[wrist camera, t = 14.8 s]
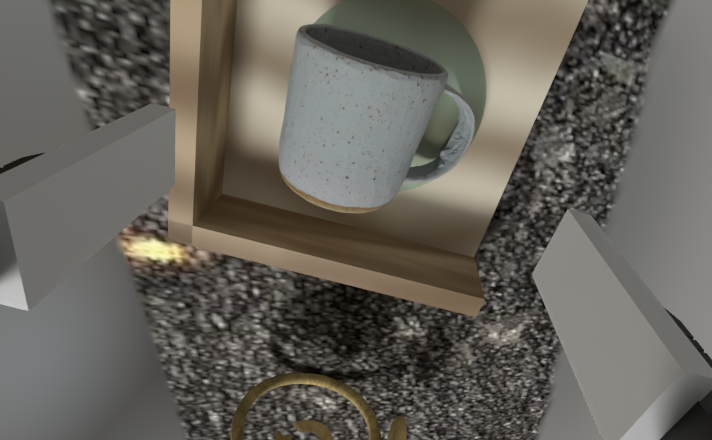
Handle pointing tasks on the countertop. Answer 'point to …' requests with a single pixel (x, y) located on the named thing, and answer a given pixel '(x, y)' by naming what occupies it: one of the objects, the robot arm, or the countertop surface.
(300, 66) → the ceramic mug
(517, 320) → the countertop surface
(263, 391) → the wall sconce
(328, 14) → the tray
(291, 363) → the countertop surface
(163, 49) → the countertop surface
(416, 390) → the countertop surface
